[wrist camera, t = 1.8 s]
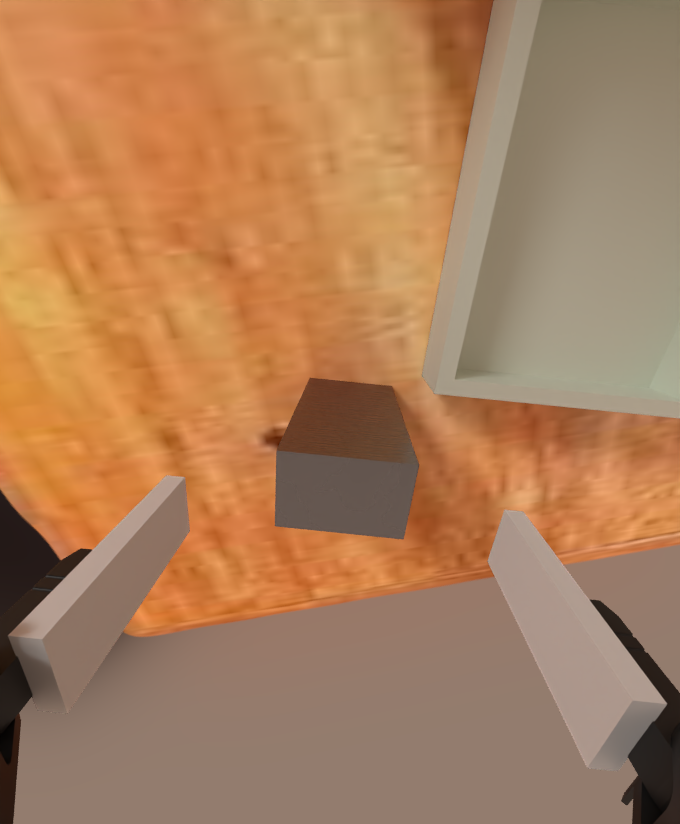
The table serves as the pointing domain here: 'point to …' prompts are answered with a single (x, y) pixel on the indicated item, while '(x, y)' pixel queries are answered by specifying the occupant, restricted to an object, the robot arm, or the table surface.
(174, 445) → the table surface
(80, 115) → the table surface
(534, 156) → the tray
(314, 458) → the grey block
